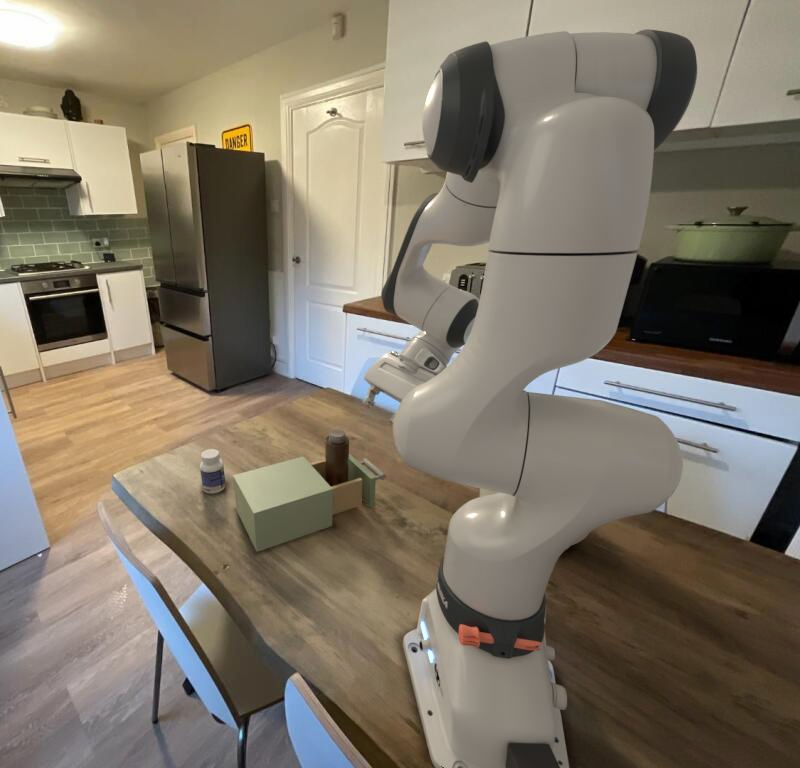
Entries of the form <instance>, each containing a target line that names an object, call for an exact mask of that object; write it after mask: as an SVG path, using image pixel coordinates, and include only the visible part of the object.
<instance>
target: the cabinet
mask: <svg viewBox="0 0 800 768" xmlns="http://www.w3.org/2000/svg"><path fill="white" fill-rule="evenodd" d="M310 463H311V462H310V461H308V460H307V458H306V457H305V456H299V457H296V458H295V457H294V458H292V459H289V460H285V461H281V462H277V463H273V464H269V465H266V466H262V467H258V468H255V469H250V470H247V471H244V472H241V473H236V474H233V475H232V479H233V489H234V498H235V499H234V500H235V508H236V509H235V510H236V513H237V514H238V516H239V518H240V520H241V522H242V524H243V526H244V528H245V531H246V533H247V535H248V537H249V539H250V541H251V543H252V546H253V547H254V550H255V551H256V552H257V553H258V552H262V551H264V550H267V549H270V548H272V547H276V546H278V545H281V544H284V543H287V542H289V541H293V540H295V539H299V538H301V537H304V536H308V535H310V534H313V533H316V532H319V531H322V530H324V529H328V528H330V527H333V515H332V506H333V489H332V488H331V487H330V485H329V484H328V483H327V482H326V481H325V480H324V479H323V478H322V476H321V475H320V474H319V473H318V472H317V471H316V470H315V469H314V468H313V466H312V465H311V464H310Z"/></svg>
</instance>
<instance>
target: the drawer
mask: <svg viewBox="0 0 800 768" xmlns="http://www.w3.org/2000/svg"><path fill="white" fill-rule="evenodd" d="M309 463H310V464H311V465H312V466H313V468H314V469H315V470H316V471H317V472H318V473H319V474H320V475H321V476H322V478H323V479H324V480H325V458H323V459H321V460H318V461H313V462H309ZM386 478H387V475H386V474H385V473H384V472H383V471H382V470H381V469H380V468H379V467H377V466H376V465H375V464H374V463H373V462H371V461H370V460H369V459H368V458H366V457H365V458H363V459H362V461H359V460H357V459H356V458H355V457H354V456H353V455H352V454H350V453H349V473H348V482H345V483H341V484H338V485H335V486H332V487H331V488H332V489H333V506H332V516H334V515H337V514H339V513H342V512H346V511H348V510H351V509H354V508H357V507H360V506H362V501H363V502H364V503H365V504H366V505H367V506H368V507H369V508H371V507H373V506H375V501H376V500H375V499H376V481H378V480H381V481H384V480H386Z"/></svg>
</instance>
